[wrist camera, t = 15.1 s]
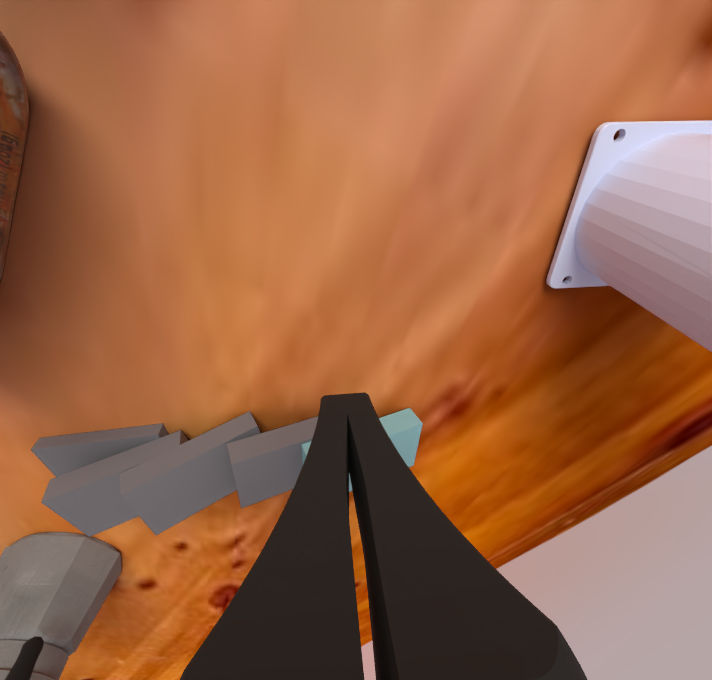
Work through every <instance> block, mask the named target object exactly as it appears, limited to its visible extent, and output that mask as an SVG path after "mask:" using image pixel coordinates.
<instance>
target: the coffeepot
mask: <svg viewBox="0 0 712 680" xmlns="http://www.w3.org/2000/svg"><path fill="white" fill-rule="evenodd" d="M121 563H122V557H121V554H120V553H119V552H118V550H117V549H115V548H114V547H113V546H112V545H110V544H108V543H106V542H104V541H102V540H99V539H97V538H94V537H89V536H87V535H82V534H76V533H68V532H44V533H37V534H32V535H29V536H26V537H23V538H21V539H19V540H18V541H16V542H15V543H14V544H13V545H11V546H9V547H6V548H5V549H4V551H3V553H2V555H1V557H0V680H59V678H60V676H61V673H62V671H63V669H64V667H65V664H66V662H67V660H68V656H69V655H71V654H72V653H73V652H75V651H76V649H77V648H78V646H79V644H80V643H81V641H82V639H83V637H84V636H85V634H86V632H87V630H88V629H89V627H90V625H91V623H92V622H93V620H94V618H95V616H96V615H97V613H98V611H99V610H100V608H101V606H102V604H103V603H104V601H105V599H106V597H107V596H108V594H109V592H110V590H111V589H112V587H113V585H114V583H115V582H116V580H117V578H118V577H119V575H120V573H121Z"/></svg>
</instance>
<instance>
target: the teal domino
mask: <svg viewBox="0 0 712 680" xmlns="http://www.w3.org/2000/svg"><path fill="white" fill-rule="evenodd" d="M379 420H380V422H381V424H382V425H383V427H384V429H385V431H386V433H387V434H388V436H389V438H390V439H391V441H392V443H393V444H394V446H395V448H396V449H397V451H398V452H399V454H400V456H401V457H402V459H403V460H404V462H405V463H406V465H407V466H408V467H410V466H413V465H414V461H415V457H416V452H417V447H418V443H419V438H420V433H421V429H422V424H423V423H422V422H421V421H420V420H419V418H418V417H417V416H416V415H415V414H414V412H413V411H412V410H411V409H410V408H407V409H404V410H402V411H399V412H396V413H393V414H390V415H387V416H384V417H381V418H379ZM310 444H311V441H310V442H307V443H304V444H301V447H302V462H303V464H304V461H305V459H306V456H307V453H308V450H309V447H310ZM350 491H352V485H351V480H350V474H349V492H350Z"/></svg>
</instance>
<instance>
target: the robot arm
mask: <svg viewBox="0 0 712 680" xmlns="http://www.w3.org/2000/svg"><path fill="white" fill-rule="evenodd" d="M618 130H619V136H618V137H617V139H615V140H614V139H613V138H614V135H615V133H616V132H617V131H618ZM567 276H568V277H567ZM565 277H567V279H566V280H565V281H563V279H564V278H565ZM546 282H547V284H548V285H549V286H550V287H551V288H555V289H557V288H576V287H595V286H611V287H613V288H614V289H616V290H617V291H619V292H620V293H622V294H624V295H625V296H627V297H628V298H630V299H631V300H633V301H634V302H636V303H637V304H639V305H640V306H642V307H643V308H645V309H646V310H648V311H650V312H651V313H653V314H654V315H656V316H657V317H659V318H660V319H662V320H663V321H665V322H666V323H668V324H669V325H671V326H672V327H674V328H675V329H677V330H679V331H680V332H682V333H683V334H685V335H686V336H688V337H689V338H691V339H692V340H694V341H695V342H697V343H698V344H700V345H701V346H703V347H704V348H706V349H708V350H709V351H711V352H712V120H705V121H642V122H606V123H603V124H602V125H600V126H599V127H598V128H597V129H596V130H595V133H594V135H593V137H592V140H591V144H590V147H589V150H588V153H587V156H586V159H585V162H584V165H583V168H582V171H581V174H580V177H579V180H578V184H577V187H576V190H575V193H574V196H573V199H572V202H571V205H570V208H569V211H568V214H567V217H566V221H565V224H564V227H563V230H562V233H561V236H560V239H559V242H558V245H557V248H556V251H555V254H554V258H553V261H552V264H551V267H550V270H549V273H548V276H547V280H546ZM349 474H350V480H351V485H352V491H353V496H354V502H355V507H356V513H357V518H358V524H359V529H360V535H361V540H362V546H363V553H364V560H365V568H366V578H367V588H368V598H369V609H370V619H371V630H372V640H373V651H374V661H375V671H376V680H587V678H586V676H585V674H584V672H583V670H582V668H581V666H580V664H579V662H578V661H577V659H576V657H575V655H574V654H573V652H572V650H571V648H570V647H569V645H568V643H567V642H566V640H565V639H564V637H563V635H562V634H561V632H560V630H559V629H558V627H557V626H556V625H555V624H554V623H553V622H552V621H551V620H550V619H549V618H547V617H546V616H545V615H544V614H543V613H542V612H541V611H540V610H539V609H538V608H536V607H535V606H534V605H533V604H532V603H531V602H530V601H529V600H528V599H526V598H525V597H524V596H523V595H522V594H521V593H520V592H519V591H518V590H517V589H515V587H514V586H512V585H511V584H510V583H509V582H508V581H507V580H506V579H505V578H504V577H503V576H502V575H501V574H500V573H499V572H498V571H497V570H496V569H495V568H494V567H493V566H492V565H491V564H490V563H489V562H488V561H487V560H486V559H485V558H484V557H483V556H482V555H481V554H480V553H479V552H478V550H477V549H476V548H475V547H474V546H473V545H472V544H471V543H470V542H469V541H468V540H467V539H466V538H465V537H464V536H463V535H462V533H461V532H460V531H459V530H458V529H457V528H456V527H455V526H454V525H453V524H452V522H451V521H450V520H449V519H448V518H447V517H446V515H445V514H444V513H443V512H442V511H441V510H440V508H439V507H438V506H437V505H436V503H435V502H434V501H433V500H432V498H431V497H430V496H429V495H428V493H427V492H426V491H425V490H424V488H423V487H422V486H421V484H420V483H419V481H418V480H417V479H416V477H415V476H414V475H413V473H412V472H411V470H410V469H409V467H408V466H407V465H406V463H405V462H404V460H403V459H402V457H401V456H400V454H399V452H398V451H397V449H396V448H395V446H394V444H393V443H392V441H391V439H390V438H389V436H388V434H387V433H386V431H385V429H384V427H383V425H382V424H381V422H380V420H379V418H378V416H377V414H376V412H375V410H374V407H373V405H372V403H371V400H370V398H369V395H368V394H366V393H353V394H339V395H326V396H323V397H322V398H321V404H320V411H319V416H318V420H317V424H316V428H315V432H314V435H313V438H312V441H311V444H310V447H309V450H308V453H307V456H306V459H305V461H304V464H303V466H302V469H301V471H300V474H299V476H298V479H297V481H296V484H295V486H294V488H293V491H292V493H291V495H290V497H289V499H288V501H287V504H286V506H285V508H284V510H283V512H282V514H281V516H280V518H279V520H278V522H277V524H276V526H275V527H274V529H273V531H272V533H271V535H270V537H269V539H268V540H267V542H266V544H265V546H264V548H263V550H262V551H261V553H260V555H259V557H258V558H257V560H256V562H255V564H254V565H253V567H252V569H251V570H250V572H249V573H248V575H247V577H246V578H245V580H244V581H243V583H242V585H241V586H240V588H239V589H238V591H237V593H236V594H235V596H234V598H233V599H232V601H231V602H230V604H229V606H228V607H227V609H226V610H225V612H224V613H223V615H222V616H221V618H220V619H219V621H218V622H217V623H216V625H215V626H214V628H213V629H212V631H211V632H210V634H209V635H208V636H207V638H206V639H205V641H204V642H203V644H202V645H201V647H200V648H199V649H198V651H197V652H196V654H195V655H194V657H193V658H192V660H191V661H190V662H189V664H188V665H187V667H186V668H185V670H184V672H183V674H182V676H181V679H180V680H364V673H363V663H362V653H361V642H360V632H359V621H358V611H357V601H356V590H355V579H354V569H353V558H352V547H351V536H350V525H349Z"/></svg>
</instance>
